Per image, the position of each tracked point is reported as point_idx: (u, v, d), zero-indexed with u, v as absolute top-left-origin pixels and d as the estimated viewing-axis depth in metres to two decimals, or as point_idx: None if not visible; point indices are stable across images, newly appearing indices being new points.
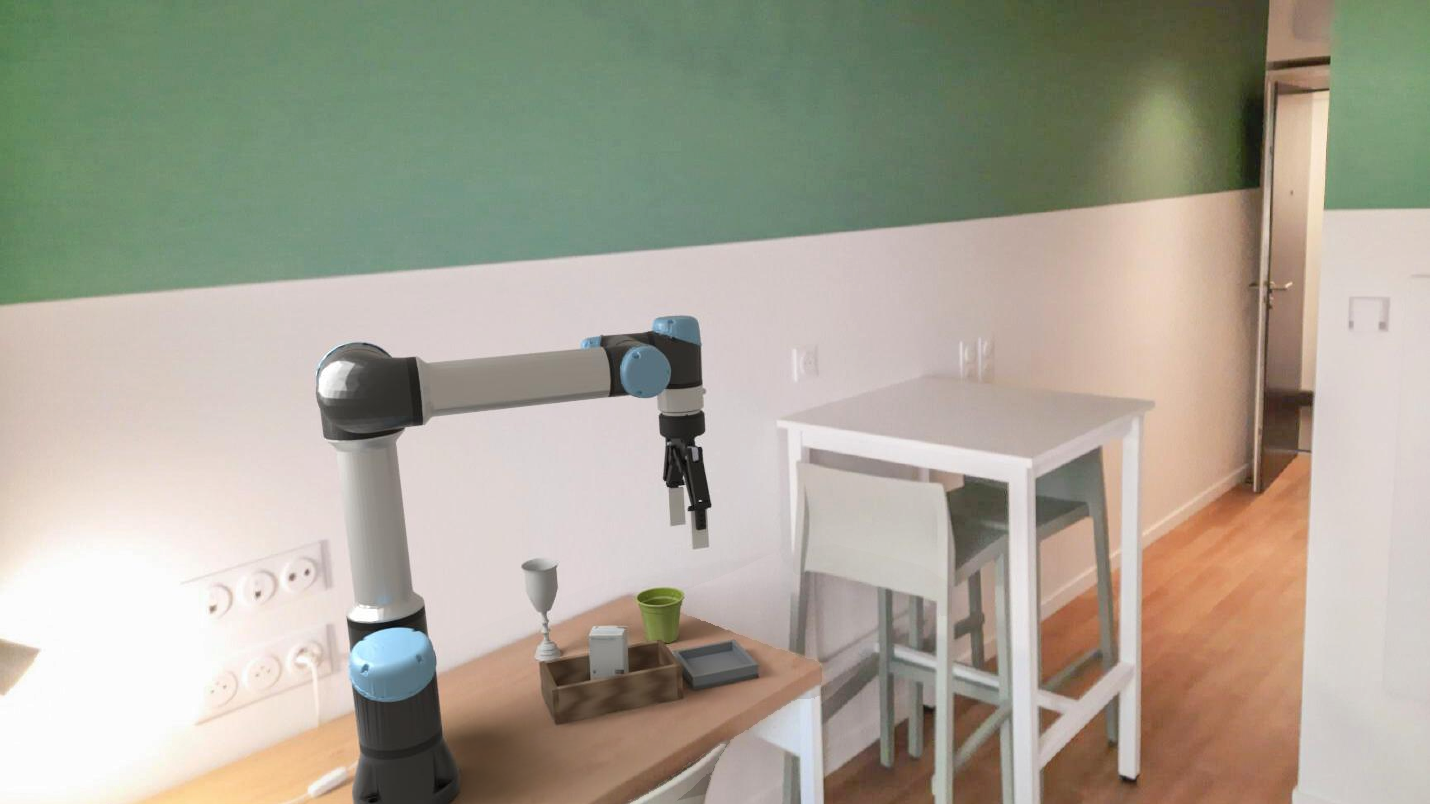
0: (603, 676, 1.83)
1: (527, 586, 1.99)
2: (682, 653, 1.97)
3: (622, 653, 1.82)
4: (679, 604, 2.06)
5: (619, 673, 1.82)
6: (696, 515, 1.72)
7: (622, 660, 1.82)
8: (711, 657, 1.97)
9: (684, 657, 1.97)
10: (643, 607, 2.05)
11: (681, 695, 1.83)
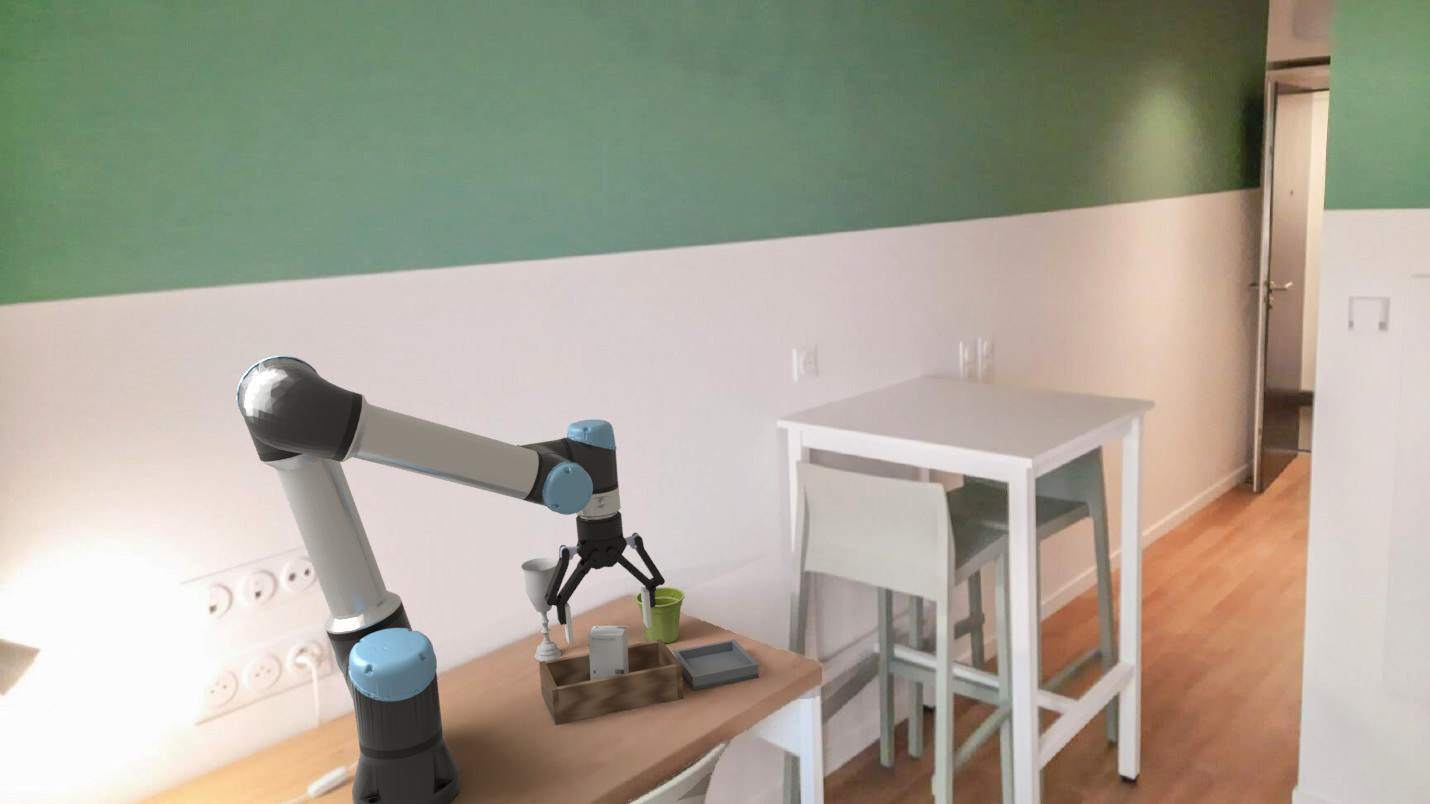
0: (603, 676, 1.83)
1: (527, 586, 1.99)
2: (682, 653, 1.97)
3: (622, 653, 1.82)
4: (679, 604, 2.06)
5: (619, 673, 1.82)
6: None
7: (622, 660, 1.82)
8: (711, 657, 1.97)
9: (684, 657, 1.97)
10: None
11: (681, 695, 1.83)
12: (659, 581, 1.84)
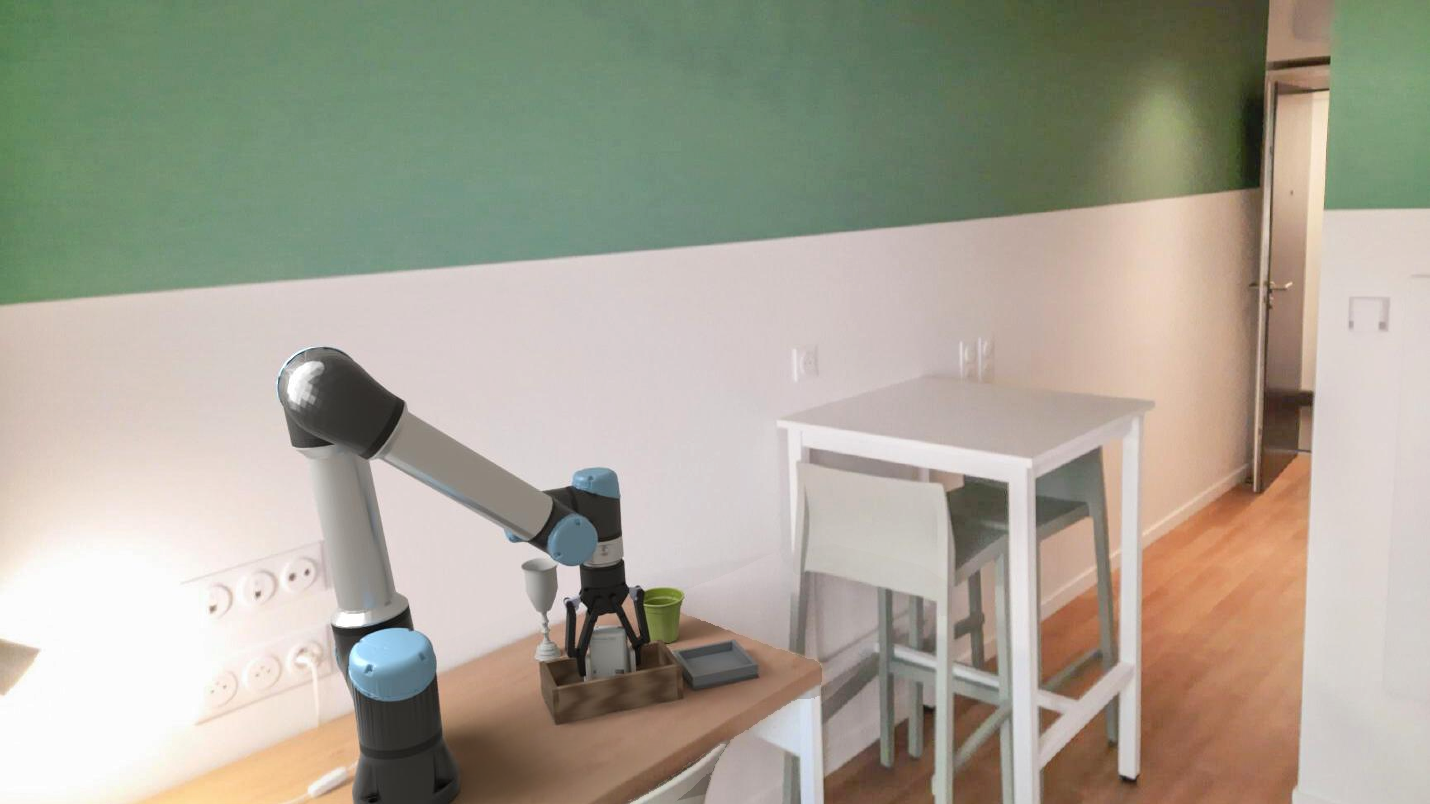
0: (603, 676, 1.83)
1: (527, 586, 1.99)
2: (682, 653, 1.97)
3: (622, 653, 1.82)
4: (679, 604, 2.06)
5: (619, 673, 1.82)
6: None
7: (622, 660, 1.82)
8: (711, 657, 1.97)
9: (684, 657, 1.97)
10: None
11: (681, 695, 1.83)
12: (645, 639, 1.85)
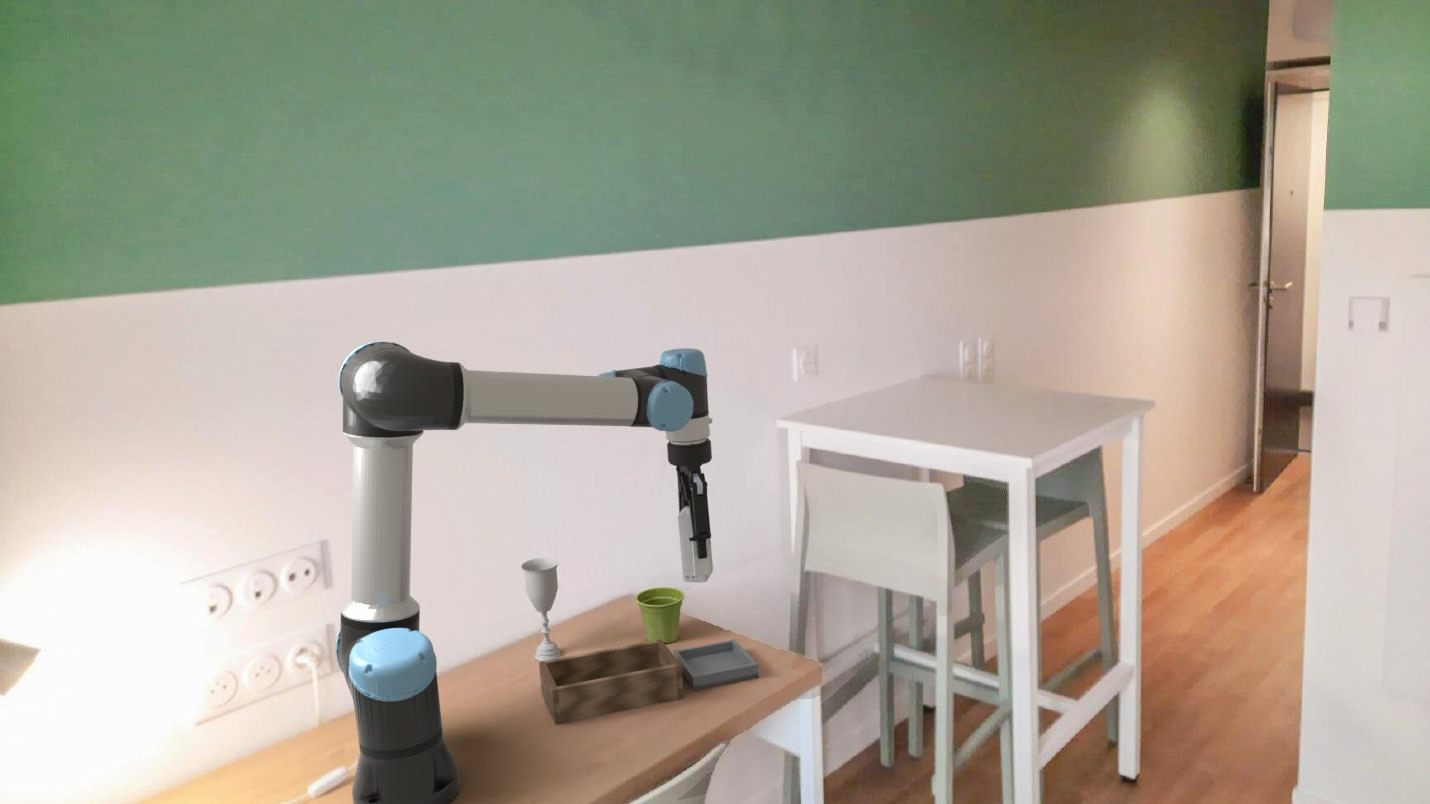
0: None
1: (527, 586, 1.99)
2: (682, 653, 1.97)
3: None
4: (679, 605, 2.06)
5: (710, 543, 1.90)
6: (697, 545, 1.83)
7: None
8: (711, 657, 1.97)
9: (684, 657, 1.97)
10: (643, 607, 2.05)
11: (681, 695, 1.83)
12: None
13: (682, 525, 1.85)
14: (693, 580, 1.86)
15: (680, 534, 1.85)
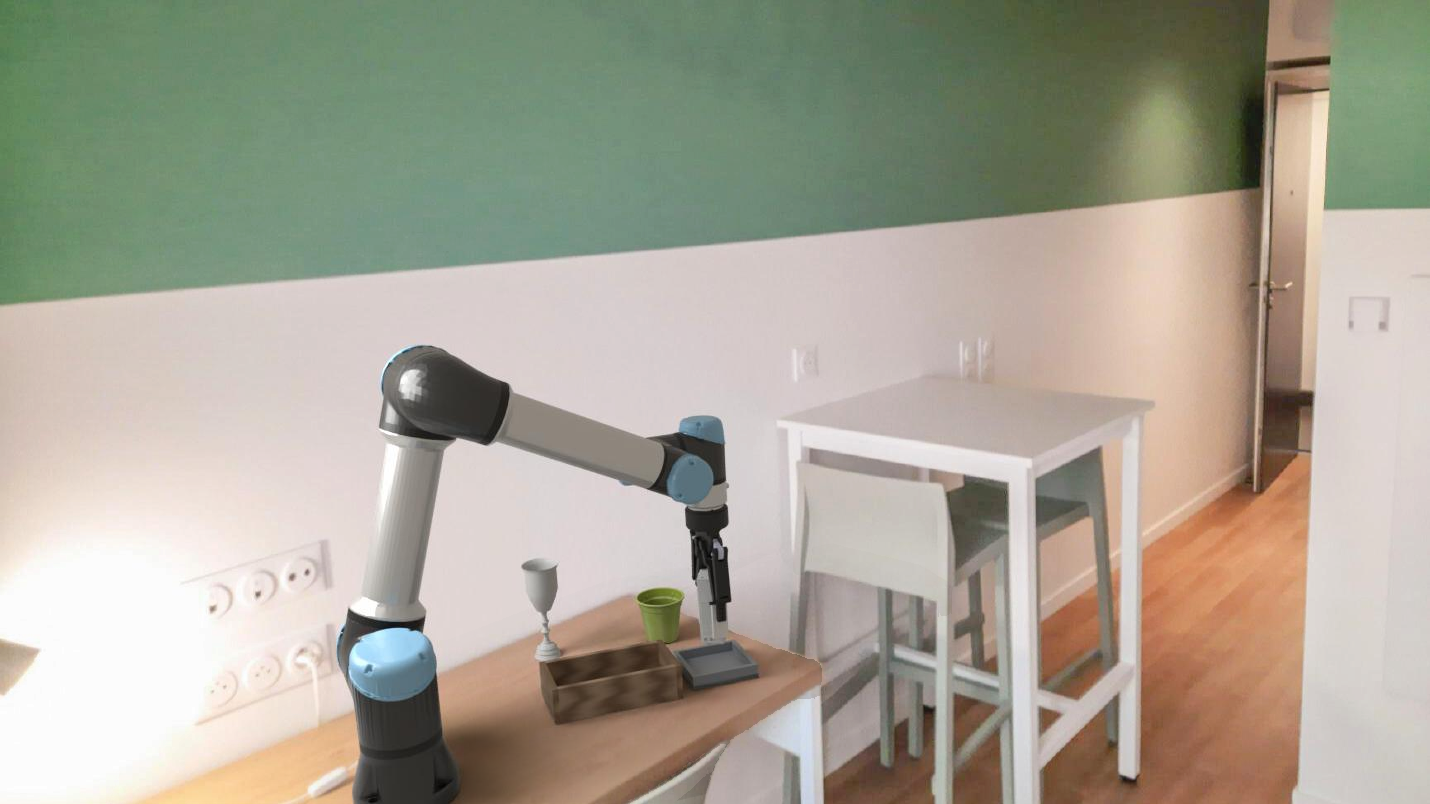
0: None
1: (527, 586, 1.99)
2: (682, 653, 1.97)
3: None
4: (679, 604, 2.06)
5: None
6: (717, 608, 1.86)
7: None
8: (711, 657, 1.97)
9: (684, 657, 1.97)
10: (643, 607, 2.05)
11: (681, 695, 1.83)
12: None
13: (701, 589, 1.88)
14: (711, 642, 1.90)
15: (699, 598, 1.88)
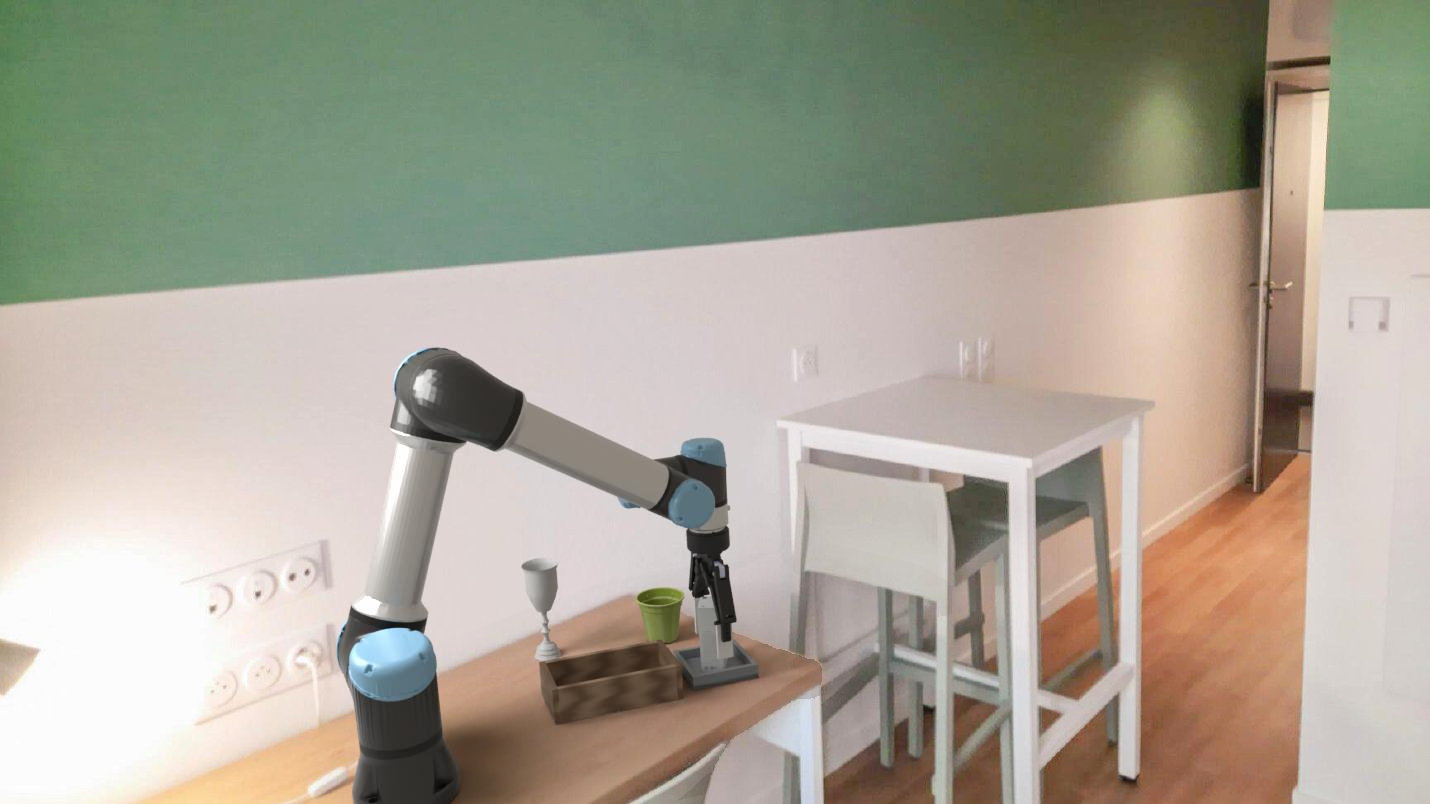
0: None
1: (527, 586, 1.99)
2: (682, 653, 1.97)
3: None
4: (679, 604, 2.06)
5: None
6: (722, 628, 1.85)
7: None
8: None
9: (684, 657, 1.97)
10: (643, 607, 2.05)
11: (681, 695, 1.83)
12: None
13: (701, 618, 1.89)
14: None
15: (699, 626, 1.90)
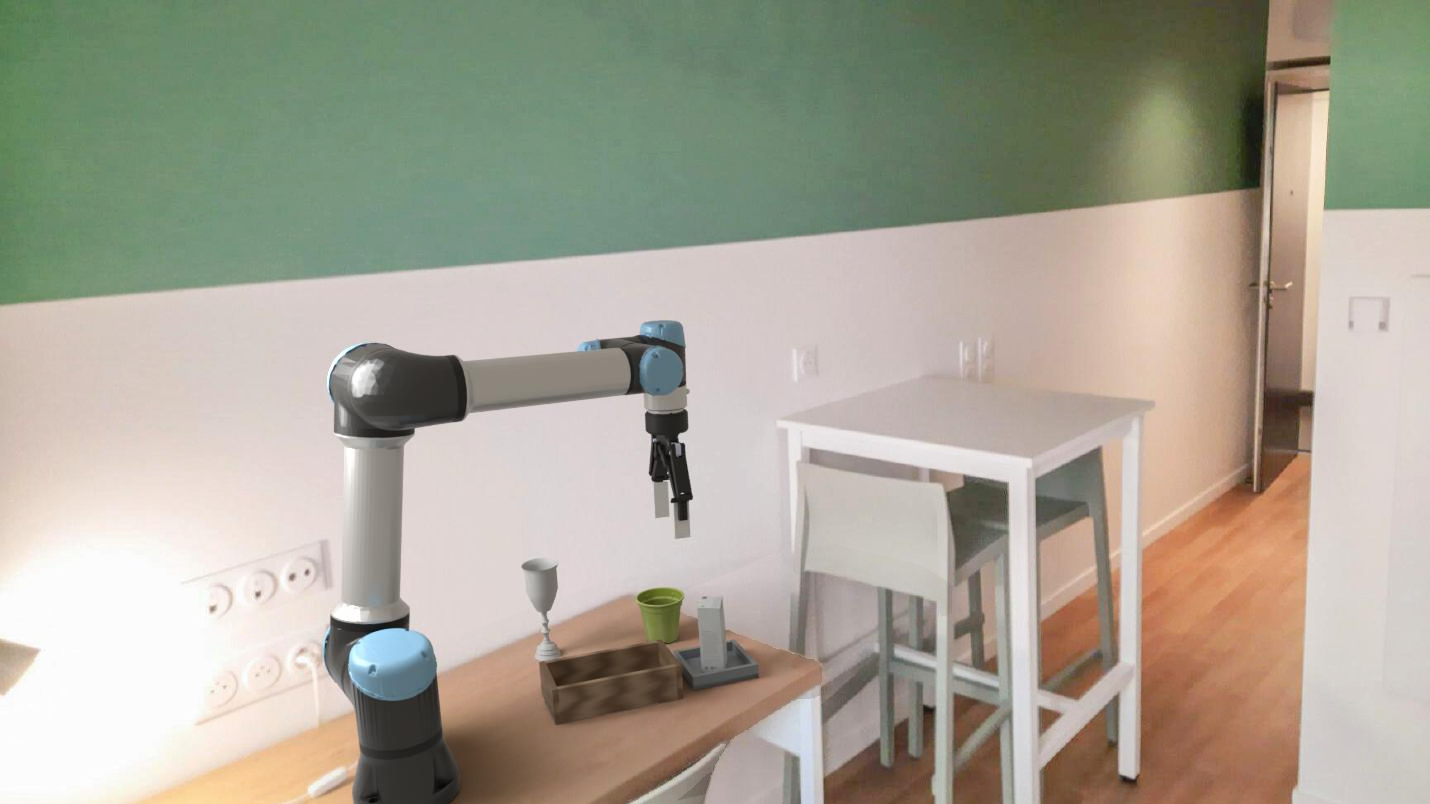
0: (724, 642, 1.92)
1: (527, 586, 1.99)
2: (682, 653, 1.97)
3: (723, 613, 1.95)
4: (679, 604, 2.06)
5: (725, 633, 1.95)
6: (678, 507, 1.84)
7: (724, 620, 1.95)
8: None
9: (684, 657, 1.97)
10: (643, 607, 2.05)
11: (681, 695, 1.83)
12: None
13: (701, 618, 1.89)
14: None
15: (699, 626, 1.90)
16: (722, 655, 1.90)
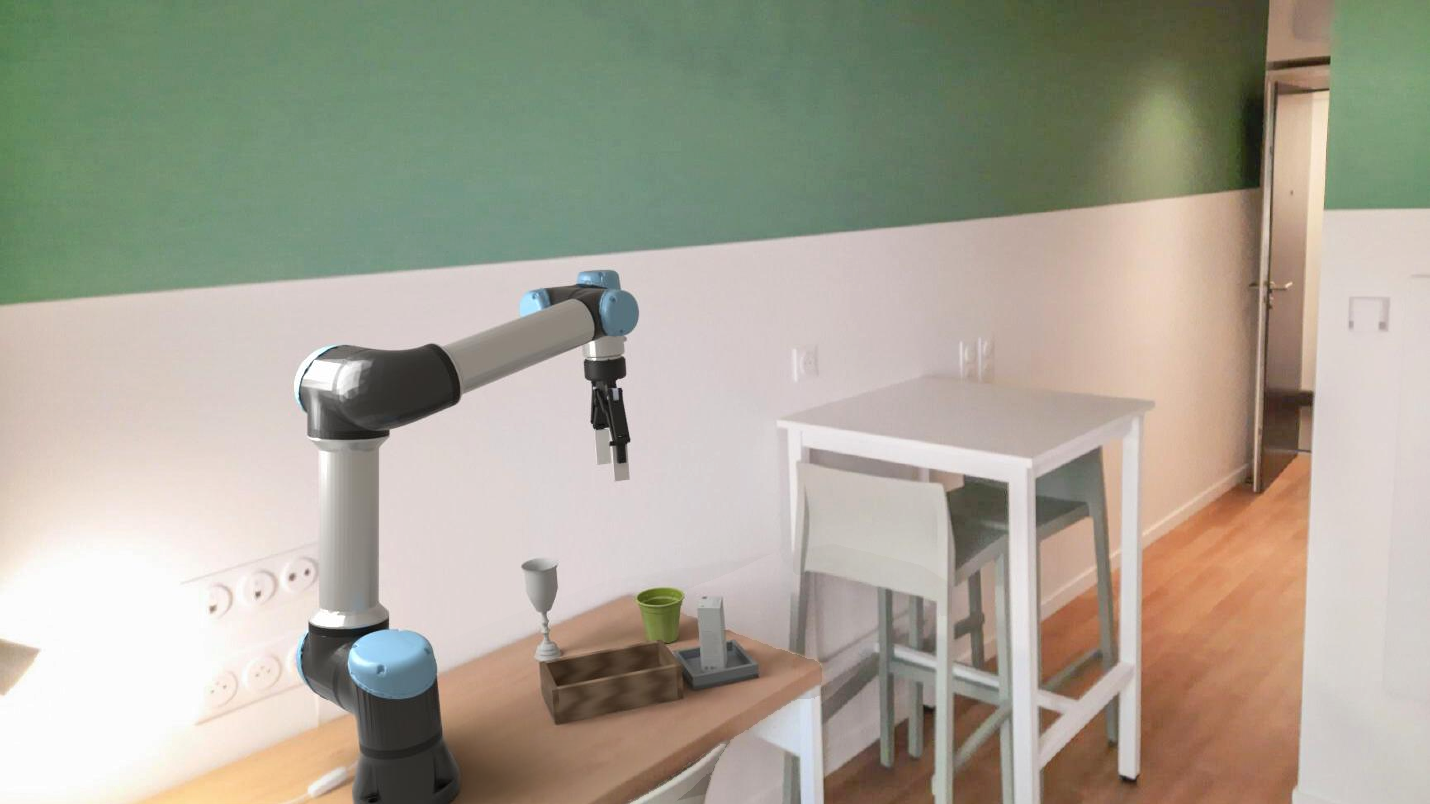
0: (724, 642, 1.92)
1: (527, 586, 1.99)
2: (682, 653, 1.97)
3: (723, 613, 1.95)
4: (679, 605, 2.06)
5: (725, 633, 1.95)
6: (617, 450, 1.90)
7: (724, 620, 1.95)
8: None
9: (684, 657, 1.97)
10: (643, 607, 2.05)
11: (681, 695, 1.83)
12: None
13: (701, 618, 1.89)
14: None
15: (699, 626, 1.90)
16: (722, 655, 1.90)
